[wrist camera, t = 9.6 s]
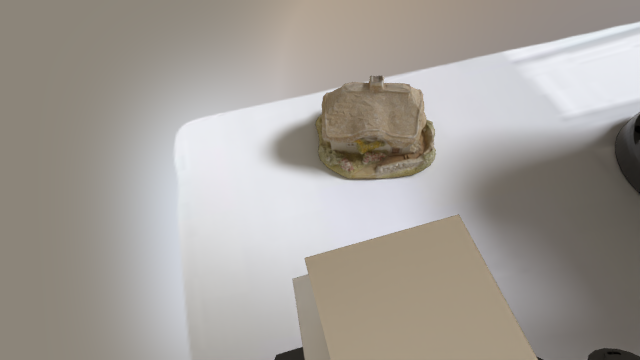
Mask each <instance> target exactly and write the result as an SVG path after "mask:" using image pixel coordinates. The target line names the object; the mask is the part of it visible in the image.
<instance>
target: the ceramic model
mask: <svg viewBox="0 0 640 360" xmlns="http://www.w3.org/2000/svg"><path fill="white" fill-rule="evenodd" d="M315 125H316V128H317V131H318V134H319V141H320V144H319V149H318V153H319V157H320V160H321V161H322V162H323V163H324V164H325V165H326V166H327V167H328V168H329V169H331V170H332V171H334V172H336V173H338V174H340V175H342V176H344V177H346V178H351V179H366V178H367V179H377V178H393V177H401V176H408V175H413V174H415V173H418V172H420V171H422V170H424V169H425V168H427V167H429V166H430V165H431V163H432V162H433V161H434V159H435V154H436V153H435V152H436V150H435V148H434V143H433V142H434V136H435V129H434V127H433V122H431V121H428V120H426V115H425V113H424V101H423V94H422V92H421V90H417V89H415V88H413V87H410V84H403V83H384V77H383V76H376V77H375V76H370V81H369V83H360V82H351V83H347V84H344V85H343V86H342V87H341V88H338V89H336V90H334V91H333V92H330V93H326V94H325V95H324V96H323V101H322V115H320V116H319V117H318V119H317V121H316V124H315Z"/></svg>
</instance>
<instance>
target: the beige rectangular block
mask: <svg viewBox="0 0 640 360" xmlns="http://www.w3.org/2000/svg"><path fill="white" fill-rule="evenodd" d="M305 262H306V266H307V270H308V274H309V278H310V281H311V285H312V289H313V293H314V297H315V301H316V305H317V308H318V312H319V316H320V320H321V324H322V328H323V331H324V335H325V339H326V343H327V347H328V351H329V355H330V358H331V360H538V359H537V357H536V355H535V353H534V352H533V350H532V348H531V346H530V344H529V342H528V341H527V339H526V337H525V335H524V333H523V331H522V330H521V328H520V326H519V324H518V322H517V320H516V319H515V317H514V315H513V313H512V311H511V309H510V308H509V306H508V304H507V302H506V300H505V298H504V297H503V295H502V293H501V291H500V289H499V287H498V285H497V284H496V282H495V280H494V278H493V276H492V274H491V273H490V271H489V269H488V267H487V265H486V263H485V262H484V260H483V258H482V256H481V254H480V252H479V251H478V249H477V247H476V245H475V243H474V241H473V240H472V238H471V236H470V234H469V232H468V230H467V228H466V227H465V225H464V223H463V221H462V219H461V217H460V216H459V214H458V215H455V216H451V217H448V218H444V219H441V220H437V221H434V222H430V223H427V224H423V225H419V226H416V227H412V228H409V229H405V230H402V231H398V232H395V233H391V234H388V235H384V236H381V237H377V238H374V239H370V240H366V241H363V242H359V243H356V244H352V245H349V246H345V247H342V248H338V249H335V250H331V251H328V252H324V253H321V254H317V255H314V256H310V257H306V258H305Z"/></svg>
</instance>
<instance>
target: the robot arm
mask: <svg viewBox="0 0 640 360" xmlns="http://www.w3.org/2000/svg"><path fill="white" fill-rule="evenodd" d="M615 150H616V156H617V160H618V163H619V165H620V167H621V169H622V171H623V173H624V175H625V176H626V178H627V179H628V180H629V182H630V183H631V184H632V185H633V186H634V188H635V189H636V190H637V191H638V192H639V193H640V112H639V113H638V114H636V115H635V116H634V117H633V118H632V119H631V120H630V121H629V122H628V123H627V124H626V125H625V126H624V127H623V128H622V129H621V130H620V132H619V134H618V136H617V139H616V145H615ZM293 286H294V292H295V299H296V305H297V312H298V318H299V325H300V331H301V338H302V344H303V347H301V348H297V349H294V350H291V351H288V352H284V353H281V354H278V355H276V357H275V359H274V360H331V358H330V355H329V351H328V347H327V343H326V339H325V335H324V331H323V328H322V324H321V320H320V316H319V312H318V308H317V305H316V301H315V297H314V293H313V289H312V285H311V281H310V278H309V274H308V275H304V276H301V277H297V278H294V279H293ZM537 359H538V360H543V359H541V358H539V357H537ZM588 360H640V357H639V356H637V355H635V354H633V353H630V352H627V351H623V350H619V349H608V348H604V349H599V350H595V351H593V352H592V353H591V354H590V355H589V356H588Z"/></svg>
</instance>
